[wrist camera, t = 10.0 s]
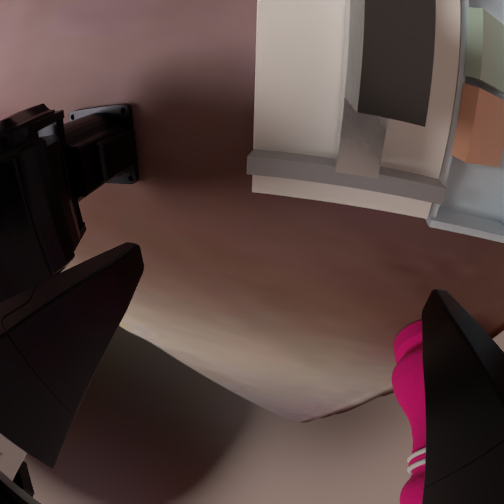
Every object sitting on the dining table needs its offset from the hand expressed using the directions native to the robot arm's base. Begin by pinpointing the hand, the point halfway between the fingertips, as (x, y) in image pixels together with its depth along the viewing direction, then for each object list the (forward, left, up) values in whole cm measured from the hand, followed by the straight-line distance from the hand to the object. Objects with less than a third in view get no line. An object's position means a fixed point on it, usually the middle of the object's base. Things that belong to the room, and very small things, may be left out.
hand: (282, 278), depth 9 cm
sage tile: (+11, +10, -12) cm, 18 cm away
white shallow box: (+2, +7, -13) cm, 15 cm away
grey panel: (+2, +7, -10) cm, 12 cm away
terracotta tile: (+11, +5, -12) cm, 16 cm away
